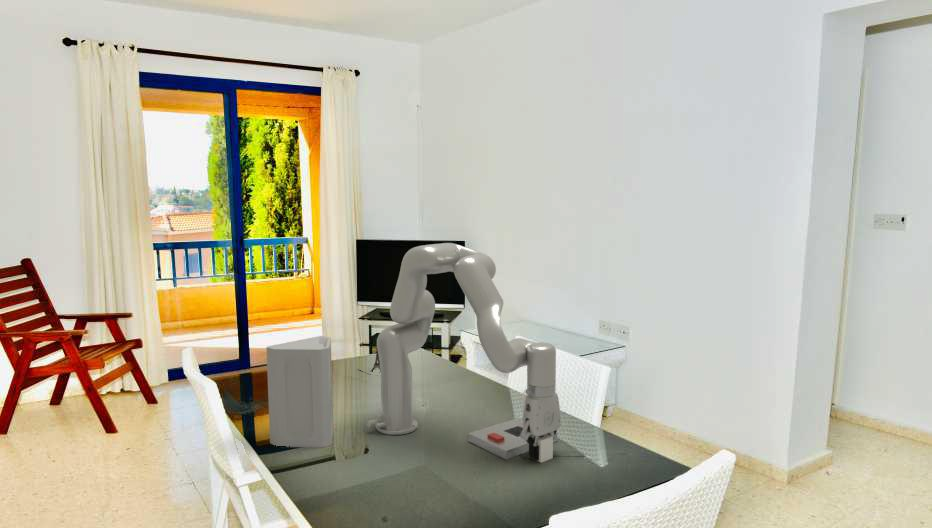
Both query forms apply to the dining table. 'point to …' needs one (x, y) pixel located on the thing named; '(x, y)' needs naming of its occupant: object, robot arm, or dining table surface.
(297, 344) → the paper bag
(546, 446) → the plug
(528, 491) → the dining table surface
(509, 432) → the socket plate
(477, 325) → the robot arm
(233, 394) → the dining table surface
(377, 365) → the eiffel tower figurine
